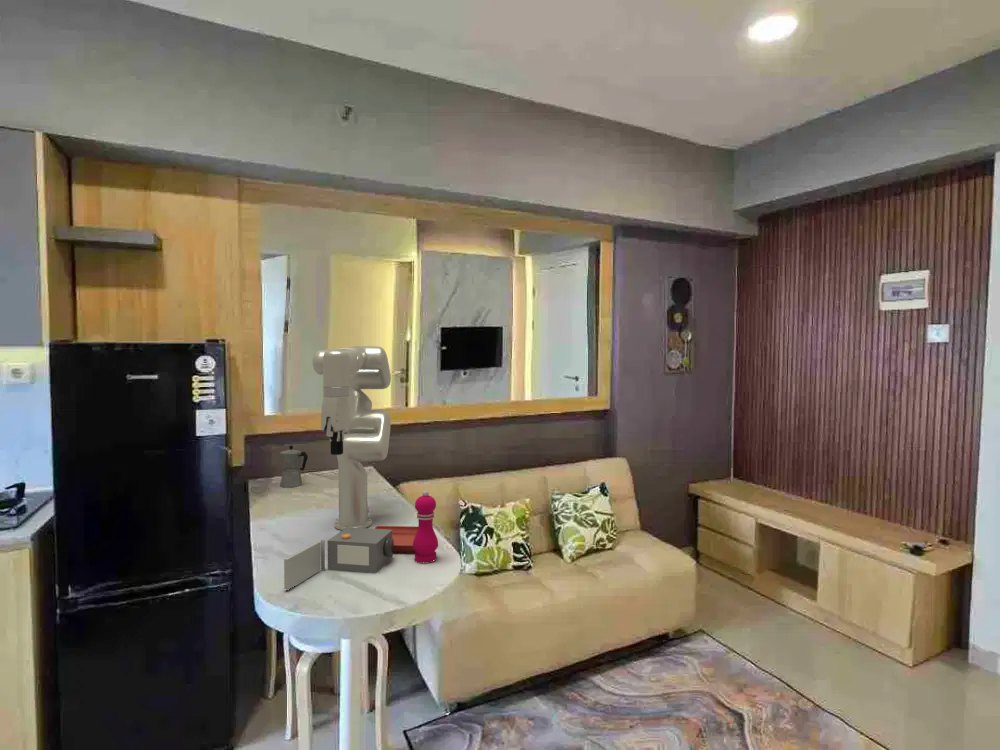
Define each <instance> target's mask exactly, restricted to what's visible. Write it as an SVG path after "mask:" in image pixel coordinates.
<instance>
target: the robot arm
mask: <svg viewBox="0 0 1000 750" xmlns="http://www.w3.org/2000/svg"><path fill="white" fill-rule="evenodd" d="M312 367H313V369H314V372H315V373H316V374H318V375H322V379H323V380H322V383H323V384H322V386H323V387H322V391H323V393H322V394H323V395H322V396H323V397H322V404H321V415H320V430H321V431H322V432H326V434H325V435H326V437H329V442H330V455H332V456H336V458H337V467H338V469H337V470H338V519H337V520H336V521H334V523H333V524H334V525H333V527H334V529H337V530H339V531H342V530H343V529H345V528H346V527H354V528H368V527H371V526H372V525H373V520H372V519H371V518H369V517H368V513H370V511H371V508H370V507H368V472H367V470H366V468H365V467H364V465H363V464H362V462H381V461H384V460H385V459H386V458H387V456H388V452H389V445H390V436H391V417H390V414H389V413H388V412H387V411H386V410H384V409H373V408H372V407H373V402H372V400H371V398H370V397H369V396H368V395H367V394H366V393H365V392H364V391H362V390H385V389H387V388H389V386H390V384H391V382H392V381H391V380H392V377H391V375H392V374H391V369H390V364H389V360H388V356H387V353H386V351H385V349H384V348H383V347H381V346H374V345H373V346H370V345H369V346H364V345H361V346H350V347H349V346H348V347H339V348H329V349H319V350H316V352H315V353H314V355H313V357H312Z"/></svg>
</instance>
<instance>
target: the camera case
mask: <svg viewBox="0 0 1000 750" xmlns="http://www.w3.org/2000/svg"><path fill="white" fill-rule="evenodd" d="M393 549H394V541H393V539H392V530H387V529H375V528H372V527H371V528H368V527H367V528H354V527H346V528H345V529H343V530H340V531H339V532H337V533H336V534H334V536H332V537H330V538H329V539H327V570H330V571H341V572H342V571H343V572H344V571H345V572H355V571H357V572H358V573H371V574H377V573H378V572H379V571H381V569H382V568H383V567H384V566H385V565H386V564H387V563H388V562H389V561H390V560H391V559H392V558H393V554H394V552H393ZM357 572H356V573H357Z"/></svg>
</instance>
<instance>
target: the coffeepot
mask: <svg viewBox="0 0 1000 750" xmlns="http://www.w3.org/2000/svg"><path fill="white" fill-rule="evenodd" d="M288 448H289V449H286V450H282V451H278V454H279V456H280V463H281V467H282V468H283V469H282V470H283V471H282V473H281V478H280V487H281V488H284V489H285V488H286V489H289V488H293V489H294V488H299V487H301V486H302V485H303V480H302V475H301V471H304V470H305V468H306V466H307V465H306V464H307V462H308V459H309V458H308V453H306V451H301V450H297V449H294V446H293V445H289V446H288ZM302 457H303V459H302ZM301 462H302V464H301ZM301 465H302V466H301Z"/></svg>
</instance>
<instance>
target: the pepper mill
mask: <svg viewBox="0 0 1000 750" xmlns="http://www.w3.org/2000/svg"><path fill="white" fill-rule="evenodd" d="M429 494H430V493H429V490H423V491H422V494H421V496H418V497H417V498H416V500H415V502H414V507H415V508H414V509H415V510H416V511H417V513H416V519H418V520H417V521H418V526H417V527H418V530H417V533H416V535H415V537H414V541H413V548H414V550H415V551H416V553H414V561H415V562H416V561H417V563H418V562H422V563H421V564H424V563H423V562H431V561H433V560H435V559H436V558H437V557H438V556H437V552H436V550H437V549H438V547H439V540H438V537H437V535H436V533H435V530H434V526H433V525H434V524H433V521H434V520H433V519H434V518H435V512H434V511H435V510H436V507H437V502H436V500H435V498H434V497H433V496H432V495H429ZM436 560H437V559H436ZM436 560H435V561H436ZM431 563H432V562H431Z"/></svg>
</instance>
